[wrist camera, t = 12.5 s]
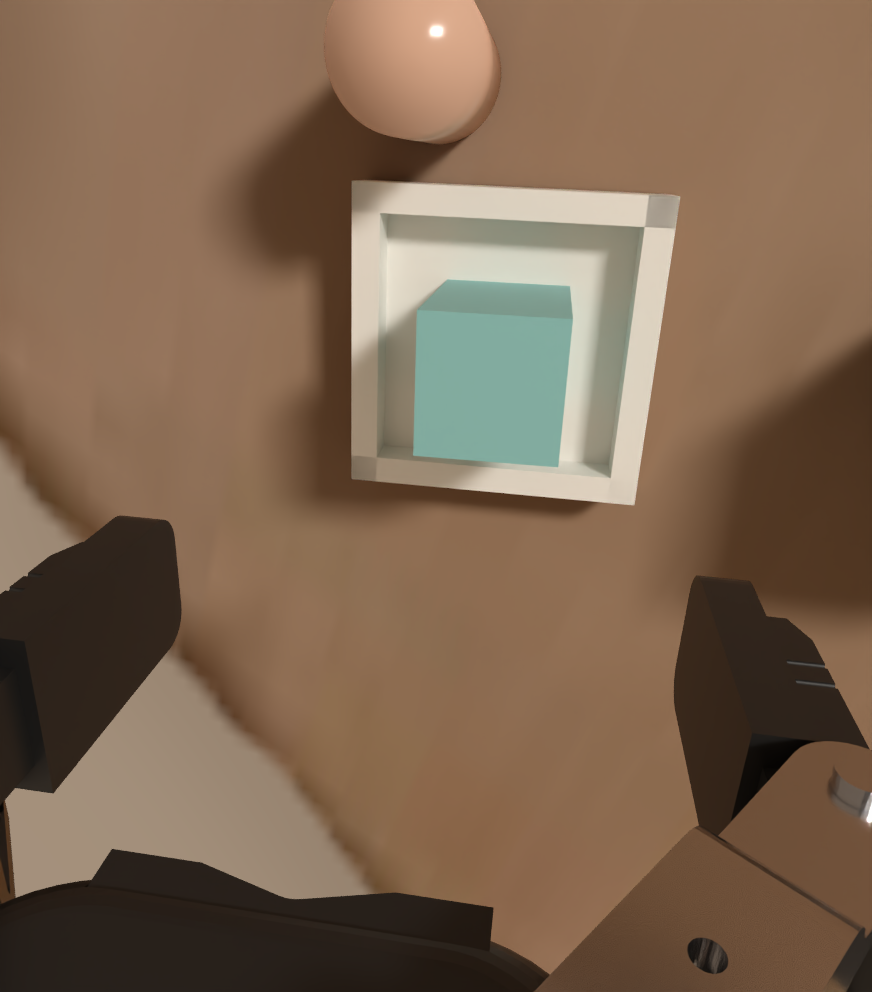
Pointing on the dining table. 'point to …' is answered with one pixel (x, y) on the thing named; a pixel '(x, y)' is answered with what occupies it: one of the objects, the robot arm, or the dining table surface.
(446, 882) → the dining table surface
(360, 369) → the tray
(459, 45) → the peach capsule
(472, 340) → the teal block
